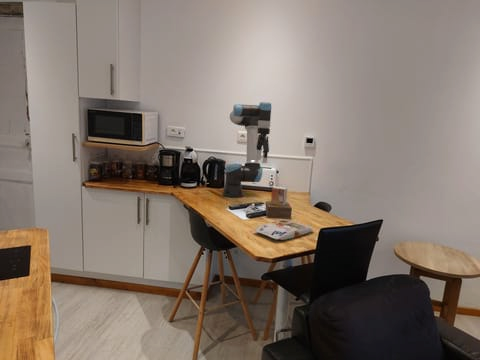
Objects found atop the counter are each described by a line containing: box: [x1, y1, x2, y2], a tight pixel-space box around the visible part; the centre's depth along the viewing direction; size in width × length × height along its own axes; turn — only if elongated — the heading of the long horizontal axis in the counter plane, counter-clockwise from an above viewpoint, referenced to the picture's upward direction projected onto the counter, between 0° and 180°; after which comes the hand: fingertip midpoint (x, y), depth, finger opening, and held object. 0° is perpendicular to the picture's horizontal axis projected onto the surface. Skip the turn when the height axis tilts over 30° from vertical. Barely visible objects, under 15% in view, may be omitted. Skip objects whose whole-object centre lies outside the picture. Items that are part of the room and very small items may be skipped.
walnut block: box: [264, 200, 293, 220], centre depth 219 cm, size 14×14×7 cm
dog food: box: [253, 219, 315, 241], centre depth 186 cm, size 30×18×5 cm, turn 133°
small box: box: [270, 185, 288, 206], centre depth 218 cm, size 8×6×10 cm
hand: (261, 161), depth 228 cm, fingers open, 13 cm apart
